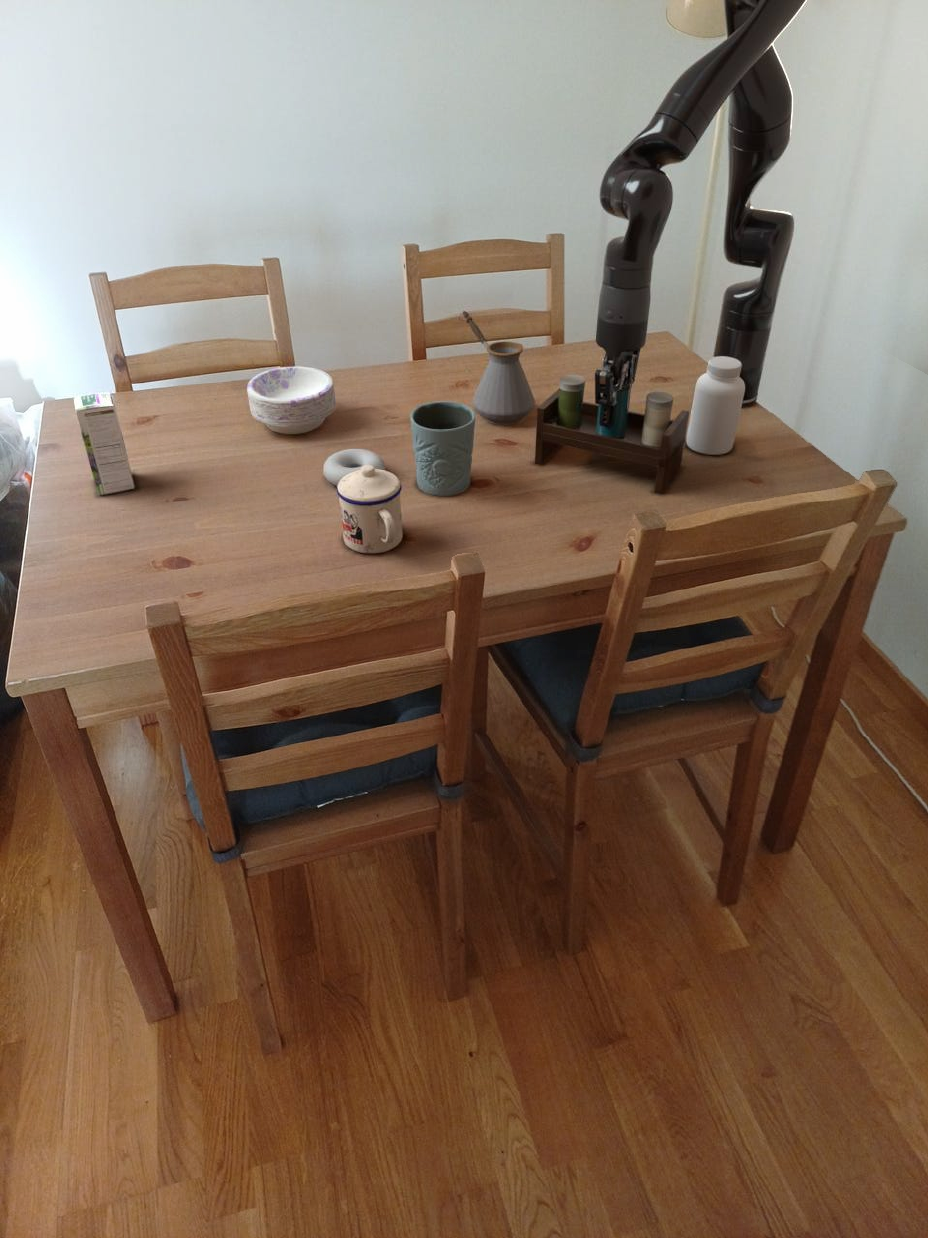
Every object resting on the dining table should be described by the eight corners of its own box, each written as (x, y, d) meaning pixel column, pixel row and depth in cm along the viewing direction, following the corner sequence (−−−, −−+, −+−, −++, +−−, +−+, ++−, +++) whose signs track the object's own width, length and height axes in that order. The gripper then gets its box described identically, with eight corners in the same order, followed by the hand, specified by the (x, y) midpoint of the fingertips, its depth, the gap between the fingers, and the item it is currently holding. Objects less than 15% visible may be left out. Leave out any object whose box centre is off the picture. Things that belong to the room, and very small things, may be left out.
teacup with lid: (332, 531, 131) (324, 461, 123) (389, 516, 134) (384, 447, 127) (364, 572, 122) (357, 499, 115) (423, 555, 126) (420, 482, 118)
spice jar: (601, 423, 145) (607, 371, 140) (630, 429, 144) (637, 376, 138) (590, 435, 142) (595, 382, 136) (620, 442, 140) (626, 388, 135)
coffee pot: (546, 421, 160) (550, 340, 151) (491, 434, 156) (492, 352, 147) (488, 380, 175) (489, 304, 166) (437, 392, 171) (435, 314, 162)
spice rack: (558, 439, 154) (563, 364, 146) (680, 467, 146) (693, 389, 138) (534, 463, 147) (538, 386, 139) (661, 494, 139) (673, 413, 131)
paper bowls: (314, 447, 152) (309, 404, 148) (237, 435, 156) (230, 393, 151) (351, 411, 164) (347, 370, 159) (278, 401, 168) (272, 361, 163)
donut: (370, 497, 139) (394, 467, 146) (368, 478, 137) (393, 449, 144) (313, 487, 141) (340, 459, 149) (311, 468, 139) (338, 440, 147)
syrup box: (95, 480, 144) (70, 396, 135) (132, 473, 145) (110, 390, 137) (98, 496, 139) (73, 410, 131) (137, 489, 141) (114, 404, 132)
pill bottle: (734, 458, 148) (751, 372, 139) (685, 454, 150) (699, 369, 140) (732, 437, 154) (748, 354, 145) (685, 433, 156) (699, 350, 147)
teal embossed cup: (445, 462, 148) (444, 395, 140) (488, 483, 142) (489, 414, 135) (400, 483, 142) (396, 414, 135) (443, 506, 136) (441, 435, 129)
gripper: (630, 332, 125) (618, 442, 135) (662, 302, 135) (649, 407, 145) (581, 323, 127) (573, 432, 138) (616, 295, 137) (606, 398, 148)
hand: (612, 418), depth 141 cm, fingers closed on spice jar, 4 cm apart
